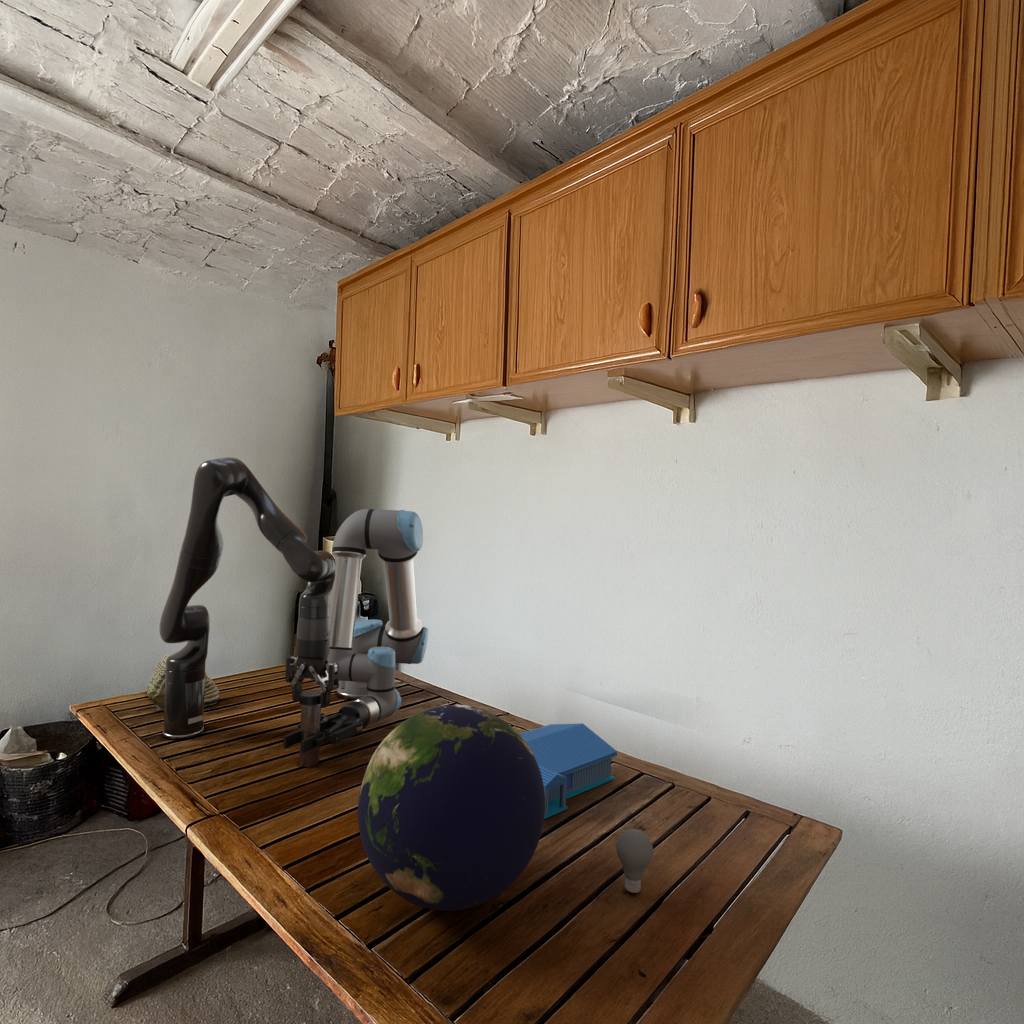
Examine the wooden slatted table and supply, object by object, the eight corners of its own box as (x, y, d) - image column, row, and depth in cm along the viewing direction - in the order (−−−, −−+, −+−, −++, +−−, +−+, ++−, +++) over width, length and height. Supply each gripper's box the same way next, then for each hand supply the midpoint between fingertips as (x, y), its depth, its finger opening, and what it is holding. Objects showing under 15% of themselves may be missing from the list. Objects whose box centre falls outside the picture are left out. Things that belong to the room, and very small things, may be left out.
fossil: (144, 707, 182) (145, 655, 182) (212, 696, 194) (213, 647, 194) (151, 716, 175) (153, 662, 175) (221, 703, 188) (223, 653, 188)
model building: (497, 839, 120) (500, 786, 120) (424, 791, 138) (425, 745, 138) (625, 783, 146) (627, 740, 146) (549, 749, 164) (551, 711, 164)
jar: (303, 768, 147) (306, 700, 147) (295, 762, 150) (298, 695, 150) (321, 764, 150) (324, 696, 150) (313, 757, 153) (316, 691, 153)
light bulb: (610, 879, 108) (613, 822, 108) (644, 879, 109) (647, 822, 109) (619, 902, 102) (622, 840, 102) (655, 901, 103) (658, 840, 103)
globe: (313, 921, 95) (320, 722, 94) (416, 828, 122) (422, 674, 122) (496, 988, 83) (506, 762, 83) (564, 869, 111) (572, 699, 110)
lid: (324, 704, 148) (325, 695, 148) (300, 706, 146) (300, 697, 146) (321, 697, 153) (322, 688, 153) (298, 699, 151) (298, 690, 151)
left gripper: (278, 634, 149) (276, 703, 149) (327, 642, 143) (324, 714, 144) (300, 629, 156) (298, 695, 156) (348, 636, 150) (345, 704, 150)
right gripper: (385, 735, 163) (322, 769, 142) (330, 723, 170) (264, 753, 149) (386, 706, 163) (324, 736, 141) (331, 695, 170) (265, 721, 149)
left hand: (311, 704), depth 150 cm, fingers open, 8 cm apart
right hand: (293, 744), depth 145 cm, fingers closed on jar, 4 cm apart
